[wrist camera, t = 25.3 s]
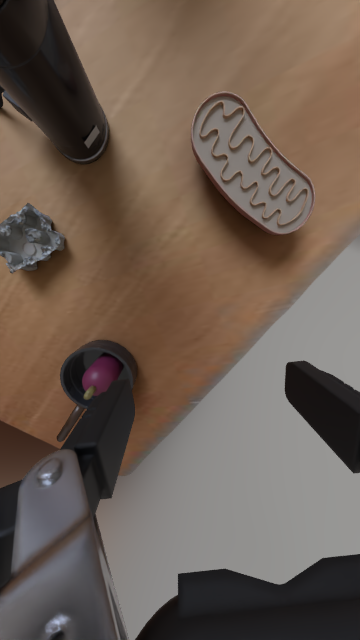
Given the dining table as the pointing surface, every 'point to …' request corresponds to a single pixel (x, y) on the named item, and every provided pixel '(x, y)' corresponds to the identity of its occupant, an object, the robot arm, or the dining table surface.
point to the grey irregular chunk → (28, 239)
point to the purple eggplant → (101, 375)
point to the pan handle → (70, 423)
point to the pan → (84, 359)
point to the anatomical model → (249, 166)
